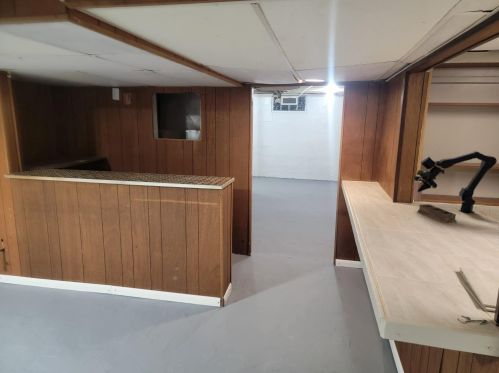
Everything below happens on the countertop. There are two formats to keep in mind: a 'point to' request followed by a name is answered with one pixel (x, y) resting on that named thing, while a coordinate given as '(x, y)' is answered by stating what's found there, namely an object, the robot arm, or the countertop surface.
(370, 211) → the countertop surface
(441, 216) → the compartment tray
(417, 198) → the clay block
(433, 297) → the countertop surface
